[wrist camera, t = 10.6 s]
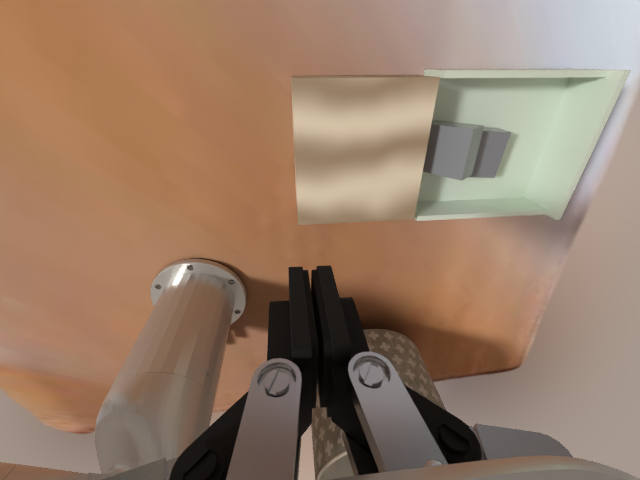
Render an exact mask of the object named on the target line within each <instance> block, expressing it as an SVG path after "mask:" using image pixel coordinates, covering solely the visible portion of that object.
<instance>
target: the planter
mask: <svg viewBox="0 0 640 480" xmlns="http://www.w3.org/2000/svg"><path fill="white" fill-rule="evenodd" d="M363 331H364V334H365V338H366V341H367V344H368V347H369V350H370V352H374V353H378V354H380V355H382V356H384V357H385V358H386V359H388V360H389V361H390V362H391V364H392V365H393V366H394V368H395V370H396V372H397V374H398V375H399V377H400V379H401V381H402V383H403V384H404V385H406V386H408V387H409V388H411V389H412V390H414V391H415V392H417V393H419V394H420V395H422V396H423V397H425V398H427V399H428V400H430V401H431V402H433V403H435V404H436V405H438V406H439V407H441V408H443V409H444V410H446V409H445V407H444V405H443V402H442V400H441V398H440V396H439V394H438V392H437V390H436V387H435V385H434V383H433V381H432V379H431V377H430V374H429V372H428V370H427V368H426V366H425V364H424V362H423V359H422V357H421V355H420V353H419V351H418V349H417V347H416V345H415V344H414V343H413V341H412V340H410V339H409V338H408V337H406V336H405V335H403V334H401V333H398V332H395V331H392V330H386V329H365V330H363ZM311 427H312V439H313V453H314V468H315V480H327V479H335V478H343V477H351V476H354V474H353V471H352V467H351V464H350V461H349V458H348V455H347V451H346V448H345V445H344V442H343V439H342V435H341V428H340V427H338V426H337V425H336V424H335V423H333V422H332V421H331V417H327V411H326V407H324V408H321V407H320V401H319V393H318V384H317V395H316V408H313V409H312V423H311Z"/></svg>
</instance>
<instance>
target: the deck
mask: <svg viewBox="0 0 640 480" xmlns="http://www.w3.org/2000/svg"><path fill="white" fill-rule="evenodd" d="M439 80H440V77H433V76H422V75H337V76H291V91H292V113H293V136H294V158H295V180H296V202H297V215H298V225H306V224H327V223H347V222H368V221H388V220H408V219H414V216H415V211H416V205H417V200H418V194H419V189H420V183H421V178H422V173H423V167H424V162H425V156H426V151H427V145H428V140H429V135H430V129H431V124H432V118H433V113H434V107H435V102H436V97H437V91H438V86H439Z"/></svg>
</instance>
